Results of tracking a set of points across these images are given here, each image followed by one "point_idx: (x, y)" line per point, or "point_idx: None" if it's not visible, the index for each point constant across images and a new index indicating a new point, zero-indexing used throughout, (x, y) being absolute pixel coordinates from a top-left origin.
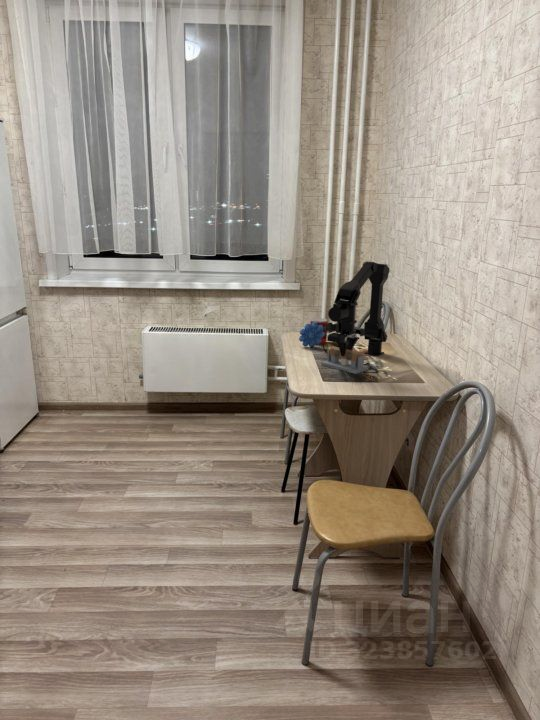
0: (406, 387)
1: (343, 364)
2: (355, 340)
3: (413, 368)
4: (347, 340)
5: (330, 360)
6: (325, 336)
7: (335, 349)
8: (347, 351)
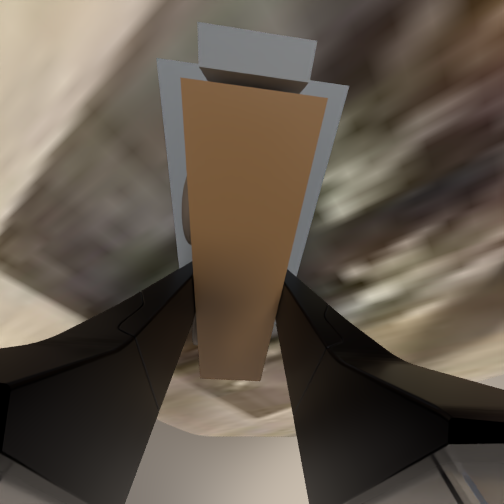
0: (197, 410)
1: None
2: (307, 479)
3: None
4: (331, 389)
5: None
6: None
7: (189, 199)
8: (219, 319)
